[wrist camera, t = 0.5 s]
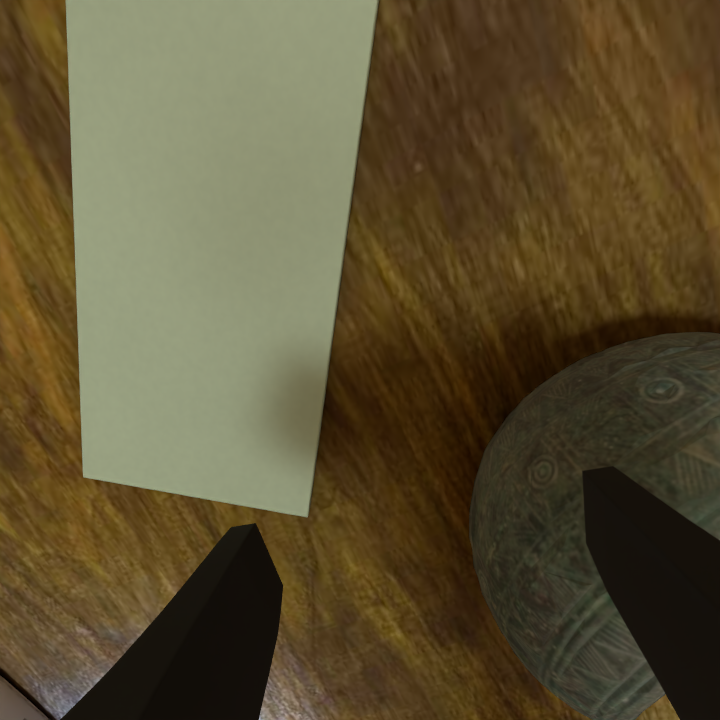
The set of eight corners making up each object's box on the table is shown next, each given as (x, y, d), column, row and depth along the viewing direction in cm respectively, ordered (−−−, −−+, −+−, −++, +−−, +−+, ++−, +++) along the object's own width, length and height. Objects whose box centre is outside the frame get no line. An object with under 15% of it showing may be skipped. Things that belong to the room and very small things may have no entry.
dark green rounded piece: (634, 654, 23) (797, 948, 14) (399, 505, 22) (401, 717, 12) (886, 444, 19) (1367, 657, 10) (616, 243, 18) (869, 262, 8)
